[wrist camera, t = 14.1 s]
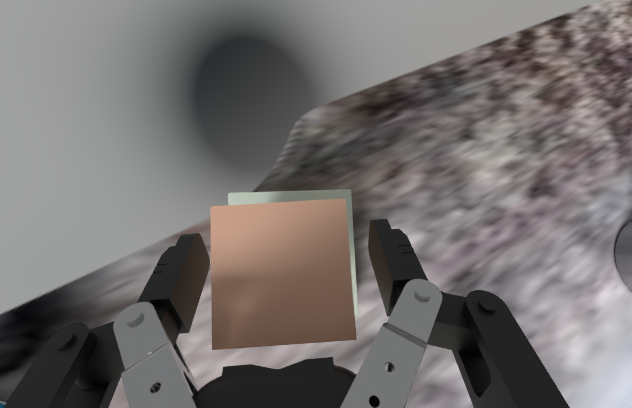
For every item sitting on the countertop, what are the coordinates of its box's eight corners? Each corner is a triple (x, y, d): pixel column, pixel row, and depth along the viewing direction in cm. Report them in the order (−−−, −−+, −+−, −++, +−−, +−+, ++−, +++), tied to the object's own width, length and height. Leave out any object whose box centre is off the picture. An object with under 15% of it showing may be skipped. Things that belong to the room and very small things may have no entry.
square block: (329, 220, 21) (345, 198, 11) (334, 292, 20) (356, 340, 10) (259, 224, 20) (210, 206, 11) (262, 297, 20) (212, 349, 10)
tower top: (344, 198, 25) (351, 188, 21) (350, 305, 24) (358, 317, 20) (241, 201, 25) (228, 193, 21) (241, 309, 23) (226, 322, 19)
